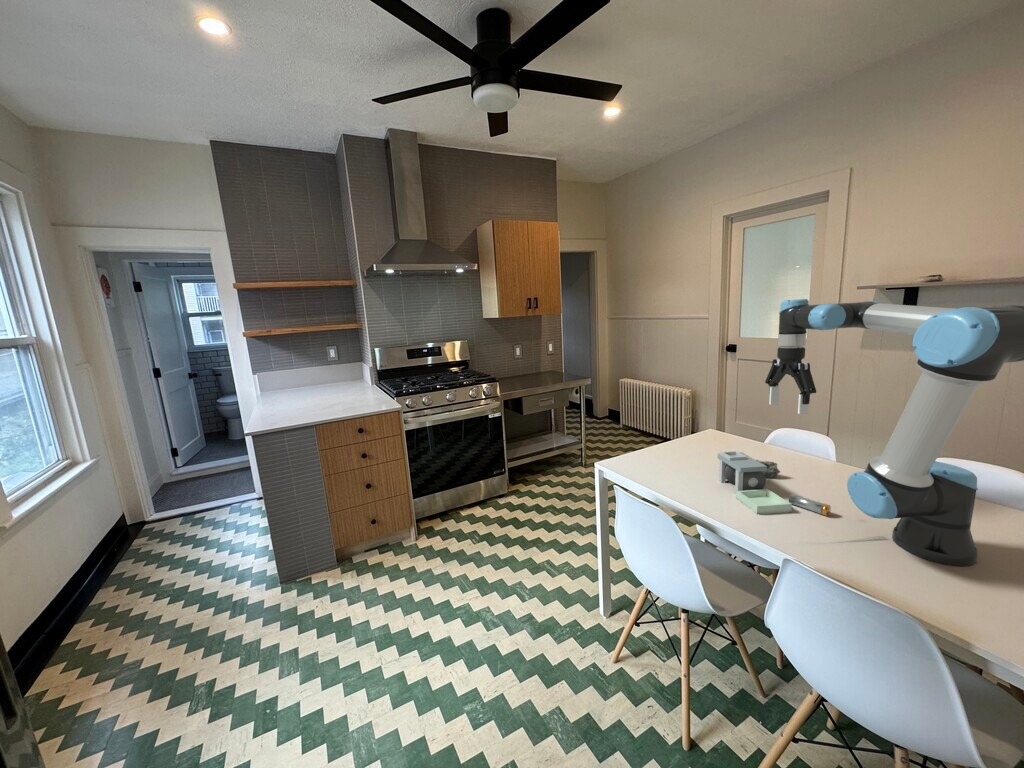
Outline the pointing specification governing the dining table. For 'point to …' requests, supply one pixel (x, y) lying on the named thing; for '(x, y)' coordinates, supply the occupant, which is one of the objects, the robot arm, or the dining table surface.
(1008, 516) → the dining table surface
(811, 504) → the pin
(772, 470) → the rock
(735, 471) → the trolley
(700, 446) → the dining table surface
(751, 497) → the tray
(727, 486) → the dining table surface
